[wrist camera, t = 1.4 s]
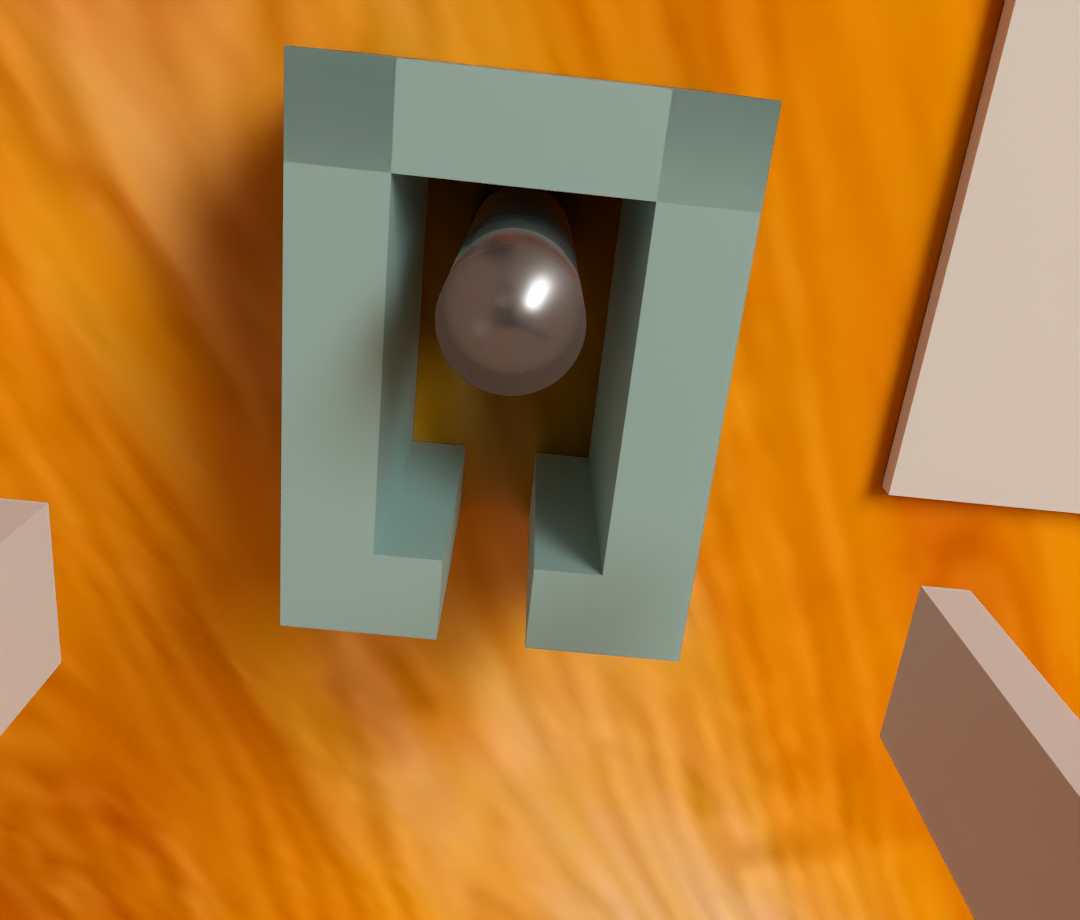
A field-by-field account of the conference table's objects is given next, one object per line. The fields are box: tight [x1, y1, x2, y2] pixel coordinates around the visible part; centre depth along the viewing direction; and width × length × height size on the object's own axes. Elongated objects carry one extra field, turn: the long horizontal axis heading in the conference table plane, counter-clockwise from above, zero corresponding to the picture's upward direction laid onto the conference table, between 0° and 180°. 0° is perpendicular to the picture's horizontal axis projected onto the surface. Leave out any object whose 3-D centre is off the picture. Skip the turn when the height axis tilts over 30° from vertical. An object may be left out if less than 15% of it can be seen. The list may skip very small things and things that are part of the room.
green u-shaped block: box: [280, 45, 782, 662], centre depth 23 cm, size 12×9×7 cm
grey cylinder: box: [435, 186, 586, 396], centre depth 21 cm, size 3×3×10 cm
